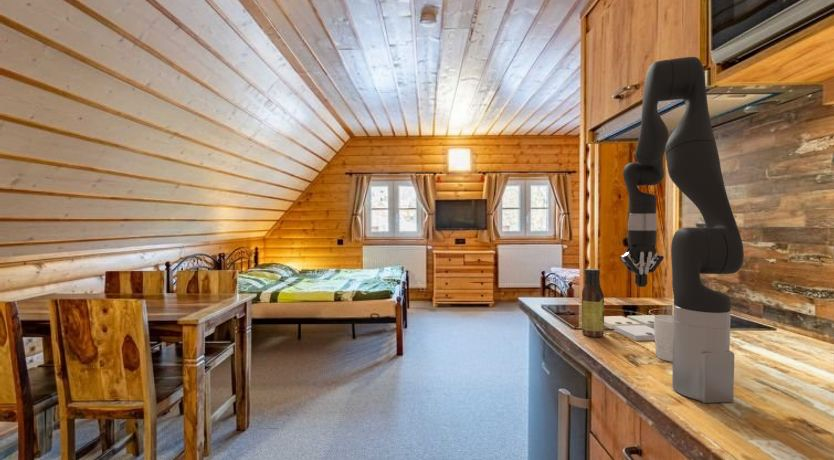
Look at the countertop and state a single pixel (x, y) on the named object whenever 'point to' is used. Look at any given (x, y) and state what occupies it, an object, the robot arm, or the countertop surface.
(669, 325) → the white cup
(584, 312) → the sauce bottle
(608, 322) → the tile two
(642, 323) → the tile three
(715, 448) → the countertop surface
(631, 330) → the tile one
